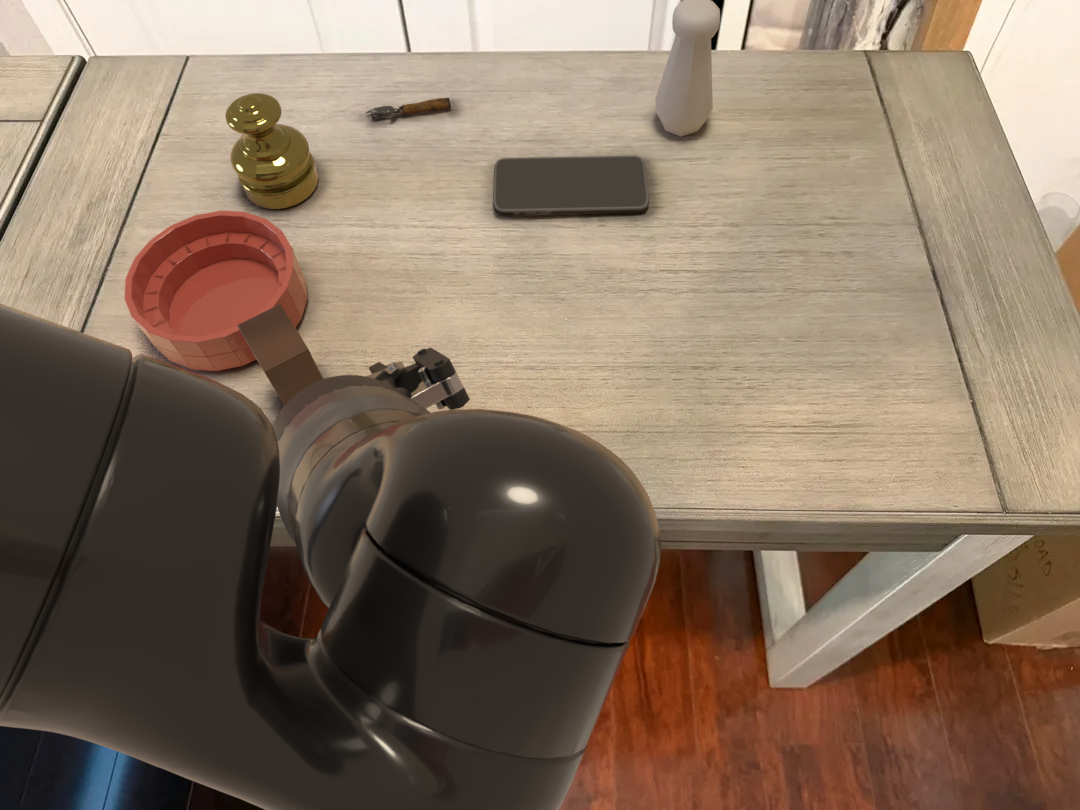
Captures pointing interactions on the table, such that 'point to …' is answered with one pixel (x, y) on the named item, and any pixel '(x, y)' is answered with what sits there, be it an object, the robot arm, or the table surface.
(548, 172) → the smartphone
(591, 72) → the table surface
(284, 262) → the bowl
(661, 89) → the salt shaker
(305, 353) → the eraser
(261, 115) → the brass weight
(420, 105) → the can opener
